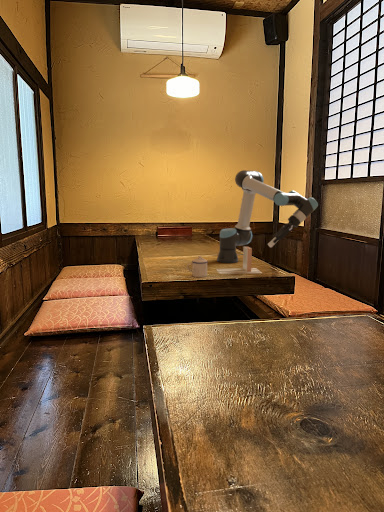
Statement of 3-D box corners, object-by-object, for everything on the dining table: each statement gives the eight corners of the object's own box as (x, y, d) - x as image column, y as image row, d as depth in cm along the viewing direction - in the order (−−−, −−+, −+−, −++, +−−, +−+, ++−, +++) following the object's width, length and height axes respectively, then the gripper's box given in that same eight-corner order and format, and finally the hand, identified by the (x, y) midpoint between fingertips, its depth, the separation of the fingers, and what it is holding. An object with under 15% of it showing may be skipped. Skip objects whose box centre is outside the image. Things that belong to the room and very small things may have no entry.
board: (214, 268, 235) (214, 267, 235) (254, 268, 237) (254, 266, 237) (219, 275, 215) (219, 273, 215) (262, 274, 217) (262, 272, 217)
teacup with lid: (208, 274, 218) (208, 255, 216) (206, 277, 209) (207, 257, 207) (188, 273, 220) (188, 254, 218) (186, 277, 211) (186, 257, 209)
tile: (242, 268, 231) (243, 246, 229) (247, 268, 232) (248, 246, 229) (246, 271, 222) (247, 248, 219) (251, 271, 222) (251, 248, 220)
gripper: (304, 223, 218) (276, 251, 219) (296, 222, 231) (270, 248, 232) (296, 214, 217) (268, 243, 218) (288, 214, 229) (262, 240, 231)
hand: (269, 246), depth 225 cm, fingers closed
